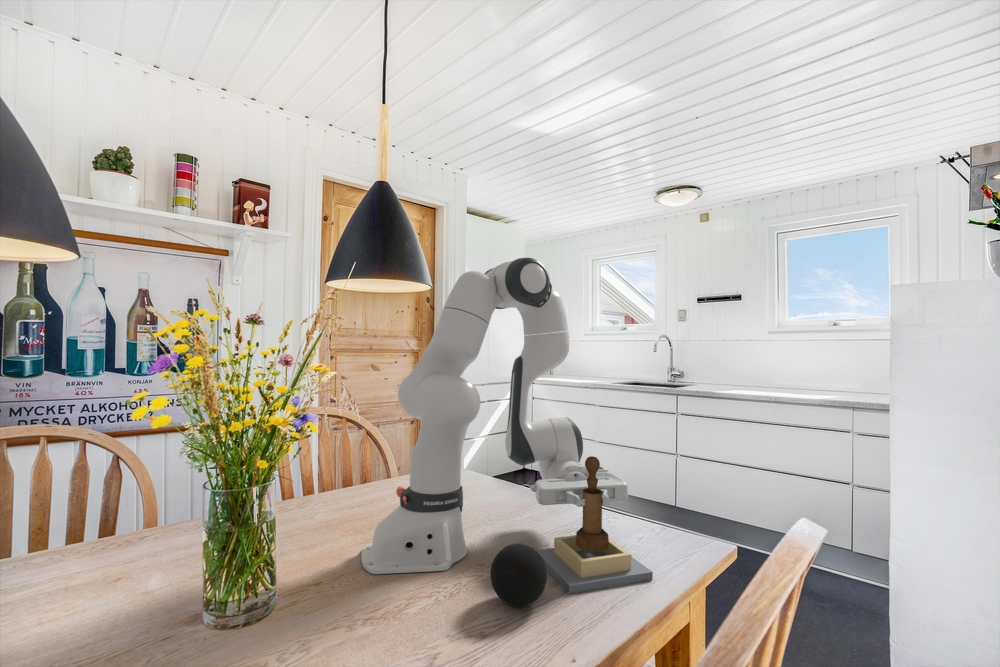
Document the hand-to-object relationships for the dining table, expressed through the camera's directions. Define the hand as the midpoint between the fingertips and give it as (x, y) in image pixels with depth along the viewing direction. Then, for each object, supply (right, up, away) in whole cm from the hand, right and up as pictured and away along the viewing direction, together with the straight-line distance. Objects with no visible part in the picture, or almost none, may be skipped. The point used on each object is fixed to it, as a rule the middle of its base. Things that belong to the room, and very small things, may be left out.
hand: (593, 502), depth 100 cm
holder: (0, -14, 0) cm, 14 cm away
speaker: (-16, -13, -13) cm, 25 cm away
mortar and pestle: (0, -9, +1) cm, 9 cm away
